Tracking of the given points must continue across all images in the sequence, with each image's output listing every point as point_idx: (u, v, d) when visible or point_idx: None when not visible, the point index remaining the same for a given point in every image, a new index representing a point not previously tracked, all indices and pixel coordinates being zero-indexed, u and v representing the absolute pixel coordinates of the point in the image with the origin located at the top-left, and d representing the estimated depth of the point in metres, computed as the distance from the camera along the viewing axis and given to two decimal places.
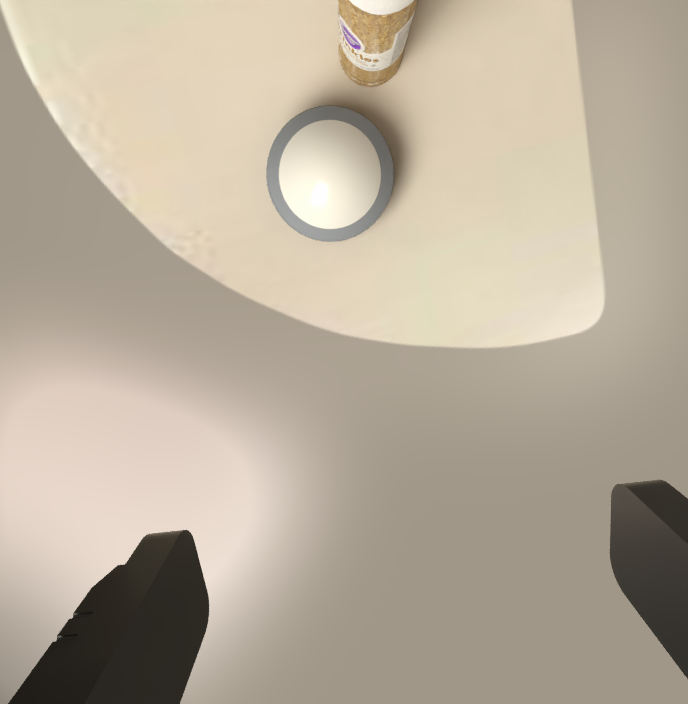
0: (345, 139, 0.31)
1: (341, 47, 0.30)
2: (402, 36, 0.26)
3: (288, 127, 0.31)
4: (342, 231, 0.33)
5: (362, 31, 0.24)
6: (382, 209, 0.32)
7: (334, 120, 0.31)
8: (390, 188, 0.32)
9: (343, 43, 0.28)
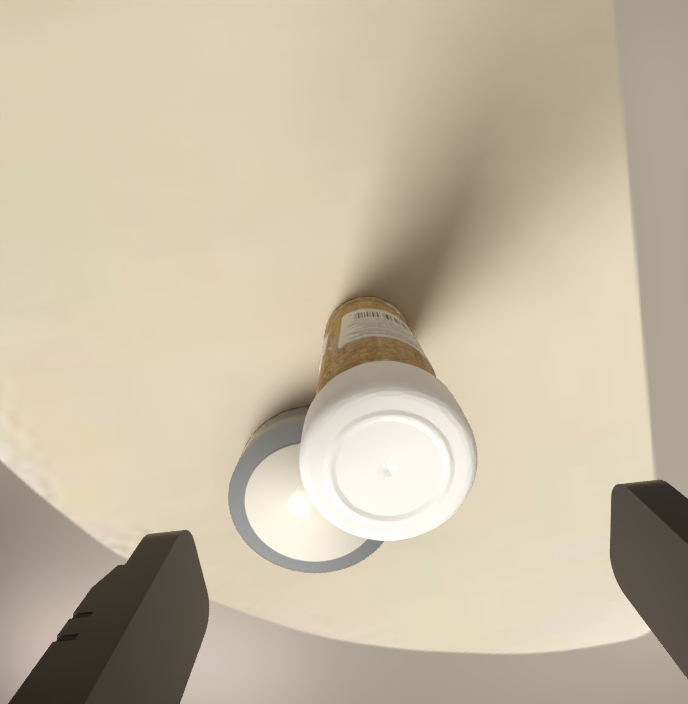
0: None
1: None
2: None
3: (256, 449, 0.23)
4: (329, 562, 0.25)
5: None
6: None
7: None
8: None
9: None
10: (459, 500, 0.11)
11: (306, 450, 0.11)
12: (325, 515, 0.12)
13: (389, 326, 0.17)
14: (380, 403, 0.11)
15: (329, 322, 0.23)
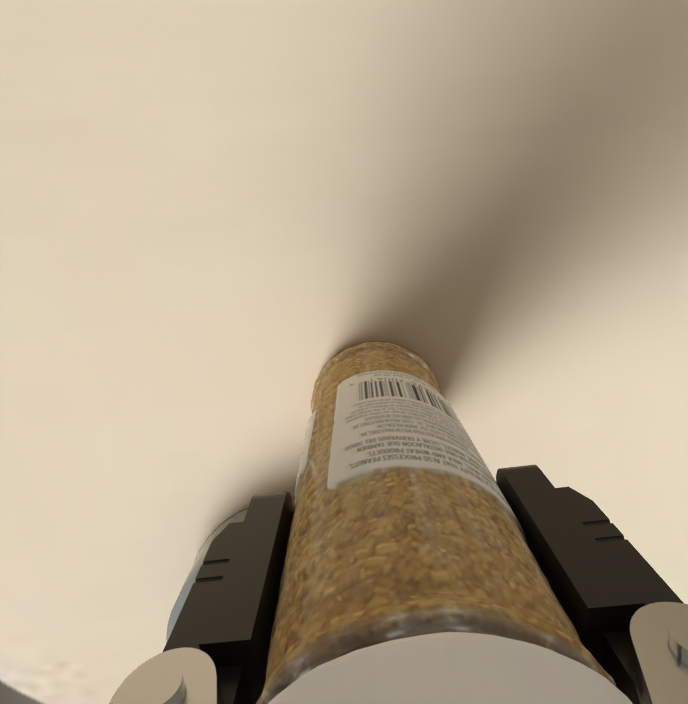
0: None
1: None
2: None
3: None
4: None
5: None
6: None
7: None
8: None
9: None
10: None
11: None
12: None
13: (426, 424, 0.09)
14: None
15: (319, 380, 0.15)
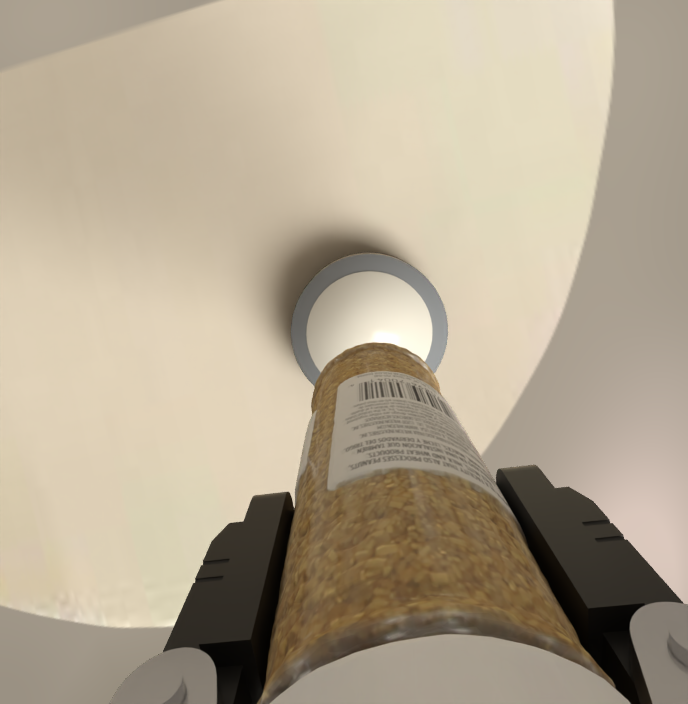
0: (327, 316, 0.26)
1: None
2: None
3: (315, 380, 0.27)
4: (436, 319, 0.26)
5: None
6: (410, 268, 0.25)
7: (306, 328, 0.26)
8: (385, 258, 0.25)
9: None
10: None
11: None
12: None
13: (426, 425, 0.09)
14: None
15: (319, 381, 0.15)
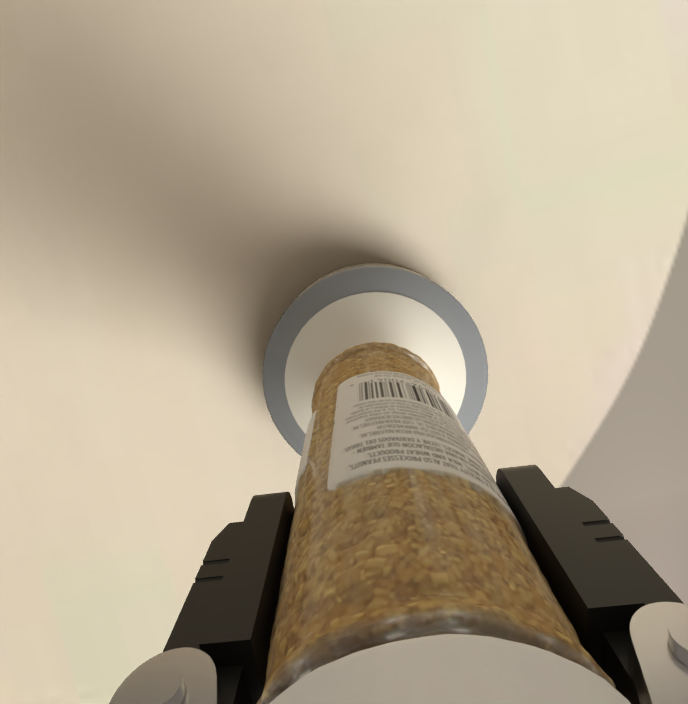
0: (315, 355, 0.18)
1: None
2: None
3: (298, 445, 0.19)
4: (471, 361, 0.18)
5: None
6: (436, 287, 0.17)
7: (285, 373, 0.18)
8: (399, 273, 0.17)
9: None
10: None
11: None
12: None
13: (426, 425, 0.09)
14: None
15: (319, 381, 0.15)
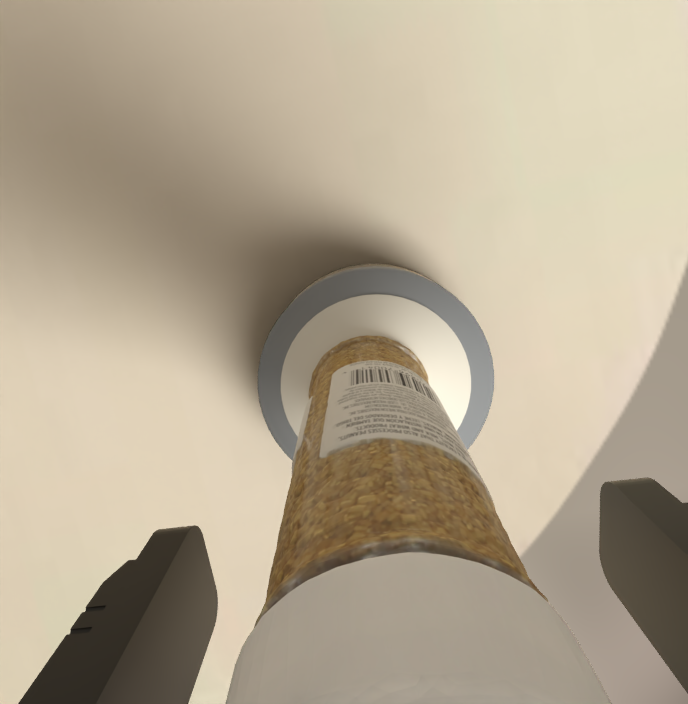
0: (312, 361, 0.17)
1: None
2: None
3: None
4: (476, 366, 0.17)
5: None
6: (439, 289, 0.16)
7: (281, 380, 0.17)
8: (400, 274, 0.16)
9: None
10: None
11: None
12: None
13: (408, 405, 0.10)
14: None
15: (316, 371, 0.16)
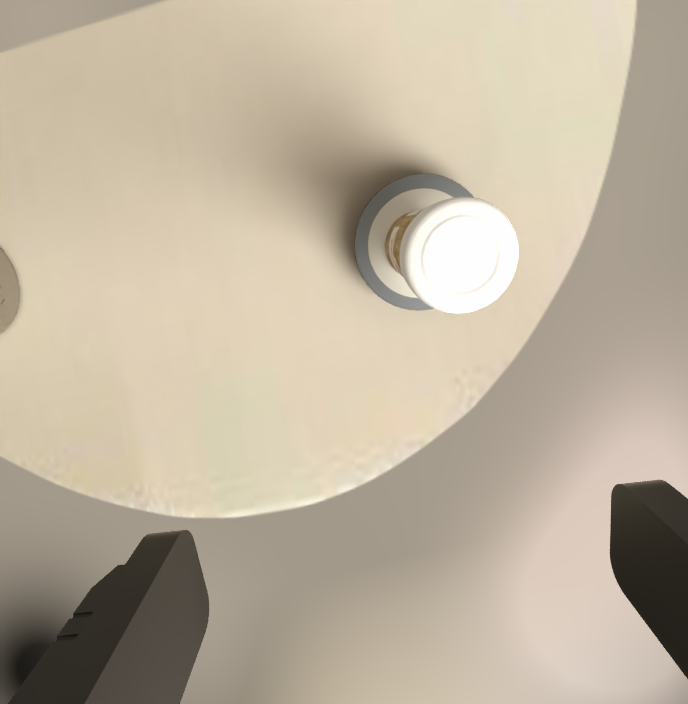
0: (387, 227, 0.30)
1: (390, 255, 0.28)
2: None
3: (372, 285, 0.31)
4: None
5: None
6: (459, 186, 0.29)
7: (368, 238, 0.30)
8: (438, 177, 0.29)
9: (394, 266, 0.26)
10: (506, 281, 0.18)
11: (410, 243, 0.17)
12: (418, 291, 0.18)
13: None
14: (460, 209, 0.17)
15: (390, 230, 0.29)
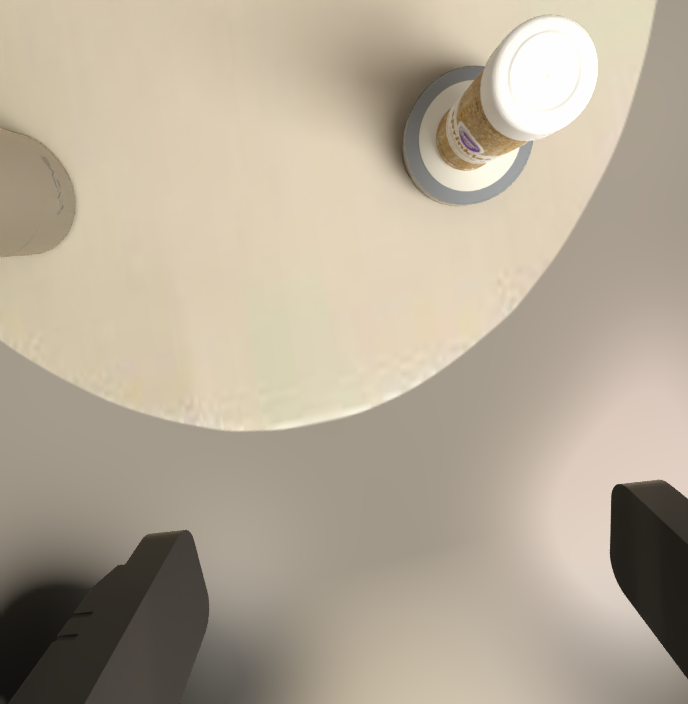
0: (437, 120, 0.32)
1: (445, 138, 0.29)
2: None
3: (423, 180, 0.33)
4: None
5: (490, 144, 0.24)
6: None
7: (419, 132, 0.32)
8: None
9: (454, 140, 0.27)
10: (586, 98, 0.19)
11: (498, 61, 0.19)
12: (504, 111, 0.19)
13: None
14: (545, 25, 0.18)
15: (441, 120, 0.31)
